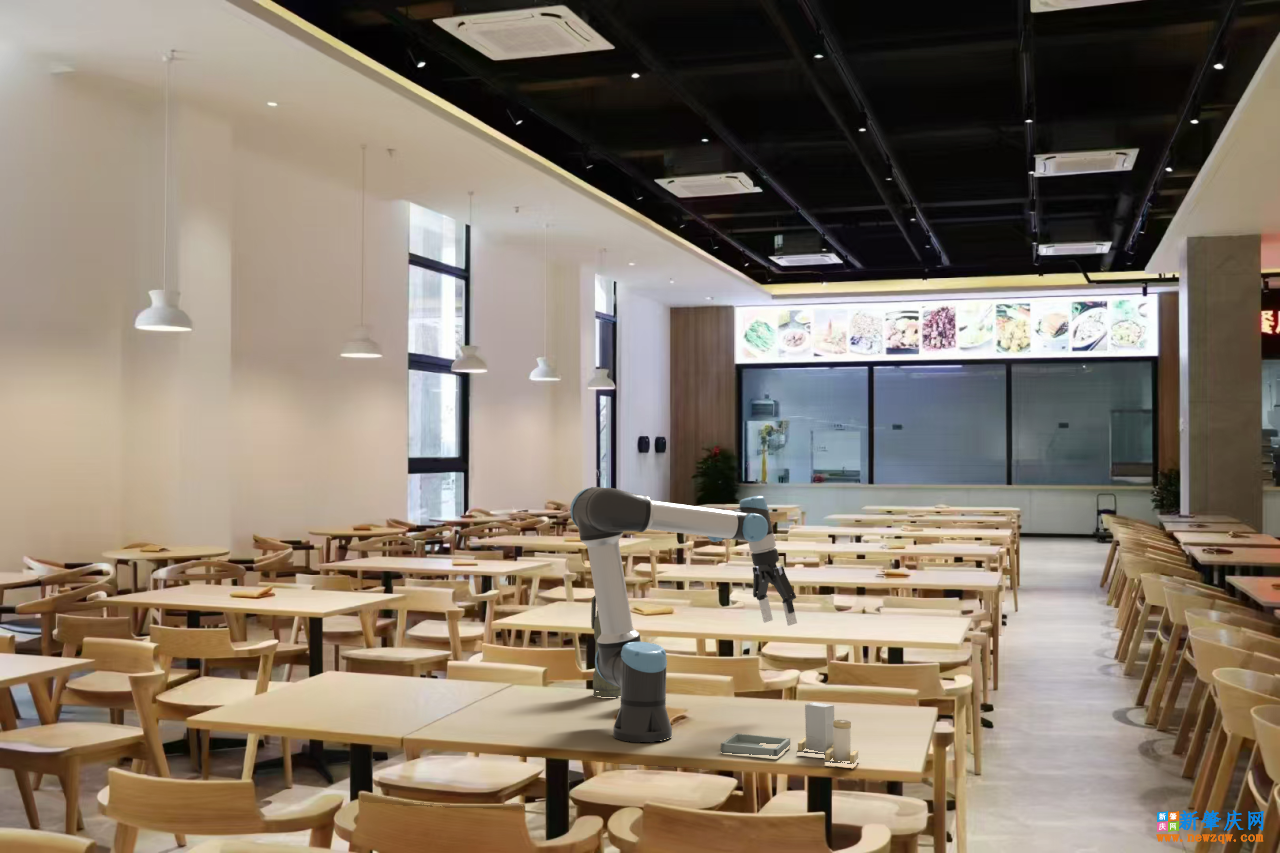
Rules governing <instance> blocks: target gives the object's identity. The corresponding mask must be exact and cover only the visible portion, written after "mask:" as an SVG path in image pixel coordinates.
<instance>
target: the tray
mask: <svg viewBox="0 0 1280 853" xmlns="http://www.w3.org/2000/svg"><path fill="white" fill-rule="evenodd" d="M760 743H766V744H780V745H778V746H777V747H776V748H765V747H762V746H763V745H759V744H760ZM789 745H790V746H791V738H786V737H778V736H777V737H776V736H768V735H767V736H766V735H760V734H759V735H757V734H747V733H734V734H733V735H731V736H730V737H729V738H727V739H726V740H724V741H723V742H721V743H720V753H721V752H722V753H732V754H749V755H751V754H752V755H769V756H771V755H772V756H778V755H779V754H780V753H781V752H782V751H783V750H784V749H786V748H787V747H788V746H789Z"/></svg>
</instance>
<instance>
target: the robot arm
mask: <svg viewBox="0 0 1280 853" xmlns="http://www.w3.org/2000/svg"><path fill="white" fill-rule="evenodd" d="M569 510H570V511H569V512H570V513H569V514H570V517H571V520H572V522H573V524H574V525H575V526H576V527H577V528H578V533H579V534H578V535H579V539H580V542H581V543H582V544H584V545H585V546H586V548H587V553H588V554H587V555H588V560H589V565H590V572H591V578H592V583H593V584H592V585H593V589H594V596H595V597H596V610H597V609H598V615H599V621H600V627H601V635H600V636H599V638H598V639H597V643H598V651H597V653H596V656H595V657H594V666H595V665H596V669H597V671H598V673H599V675H600V676H601V677H602V678H603V679H604V680H605V681H607V682H608V683H610V684H612V685H615V686H618V687H621V697H620V707H619V710H618V713H617V716H616V719H615V722H614V724H613V732H612V736H613V738H614V739H616V740H619V741H624V742H629V741H630V742H629V743H640V742H650V743H654V742H653V741H660V740H664V739H667V738H670V737H671V736H672V737H673V728H672V724H671V721H670V718H669V715H668V711H667V707H666V702H667V701H666V698H667V697H666V696H667V695H666V694H667V665H668V660H667V652H666V650H665V648H664V647H663V646H661V645H659V644H656V643H651V642H648V641H642V640H641V635H640V632H639V631H638V630H636V629H635V628H634V627H633V622H632V614H631V609H630V603H629V597H628V591H627V585H626V578H625V573H624V566H623V560H622V554H621V548H620V539H621V538H622V536H623V535H624V532H633V533H635V532H636V533H644V532H646V531H647V530H650V531H659V532H660V531H662V532H670V533H679V534H687V535H694V536H696V535H697V536H701V537H702V536H705V537H707V538H708V539H709V541H711V542H713V543H717V542H723V541H725V540H734V541H742V542H743V541H745V542H747V543H748V547H749V551H750V552H751V560H752V564H753V567H752V574H753V579H752V580H753V582H752V587H753V588H752V590H753V591H752V595H753V598H756V599H757V601H758V604H759V608H760V612H761V615H762V622H763V623H768V622H772V621H773V620H774V619H773V616H772V615H773V614H772V610H771V606H770V602H769V597H768V595H767V592H768V590H769V589H768V588H769V584H770V585H772V586H774V588H775V590H776V591H777V593H778V595H779V596H780V597H781V599H782V601H781V603H782V606H783V610H784V615H785V619H786V624H787V626H793V625H795V624H798V621H797V617H796V611H795V607H794V603H793V601H794V600H795V599H797V596H796V593H795V591H794V589H793V587H792V585H791V583H790V580H789V578H788V576H787V574H786V572H785V568H784V566H783V565H780V566H777V563H778V562H779V561H780V556H779V552H778V548H776V546H777V544H776V540H775V535H774V530H773V527H772V521H771V517H770V513H769V510H770V509H769V507H768V503H767V501H766V498H765V496H763V495H754V496H750V497H745V498H743V499H740V501H739V507H737V508H734V509H731V510H730V509H729V510H727V509H720V508H719V509H718V508H712V507H704V506H696V505H695V506H694V505H689V504H688V505H687V504H682V503H673V502H666V501H660V500H653V499H652V500H651V499H650V497H649V496H648V495H643V494H637V493H633V492H629V491H625V490H623V489H618V488H613V487H600V486H595V487H594V486H592V487H589V488H585V489H584V488H583V489H582V490H581V491H579V492H578V493H577V494H576V495H575V496H574V498H573V499H572V501H571V504H570V509H569Z"/></svg>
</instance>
